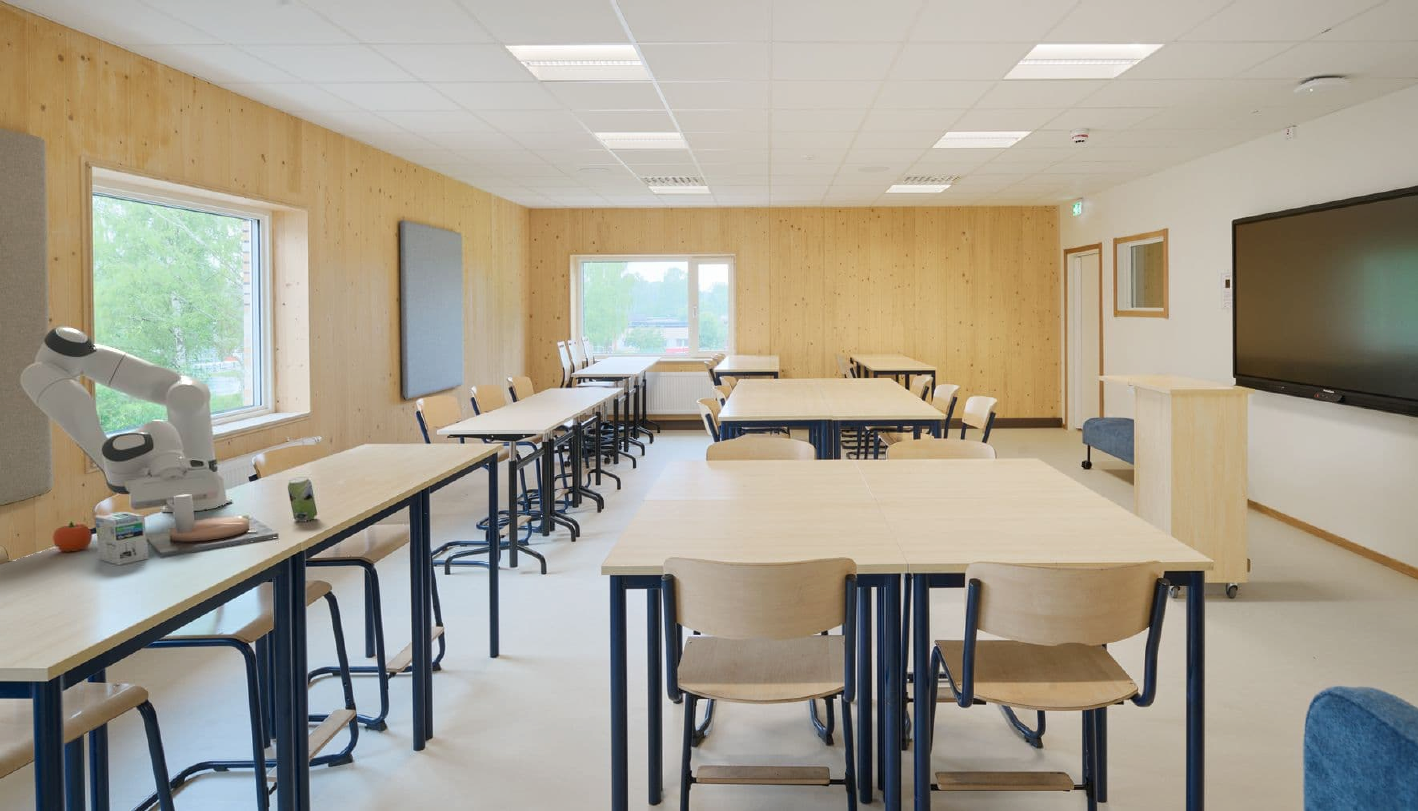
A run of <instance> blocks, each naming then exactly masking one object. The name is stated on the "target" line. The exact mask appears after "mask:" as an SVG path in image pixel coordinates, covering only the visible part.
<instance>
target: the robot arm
mask: <svg viewBox="0 0 1418 811" xmlns="http://www.w3.org/2000/svg"><path fill="white" fill-rule="evenodd" d="M83 376H84V377H85V378H87V379H88V380H90V381H93V382H95V383H97V384H99V385H102V386H103V387H106V388H110V389H111V390H114V391H117V392H120V393H122V394H124V395H125V394H126V395H127V396H129V397H133V398H136V399H138V400H142V401H146V402H149V403H152V404H155V405H158V406H162V407H165V408H166V413H167V414H166V415H167V421H166V420H162V419H153V420H150V421H147V422H145V423H144V424H142V426H141V427H139V428H137V429H135V430H132V431H130V432H126V433H118V434H115V435H113V436H111V437H109V438H108V437H107V435H106V434H105V432H104V430H103V428H102V425H101V421H100V419H99V414H98V411H97V410H98V409H97V407H96V406H97V405H96V404H95V401H94V398H93V397H92V395H91V394H90V392H89V391H88V390H87V389H86V387H85V386H84V385H83V384H82V383H81V382H80V379H81V377H83ZM19 383H20V385H21V387H22V389H23V390H24V392H25V393H26V395H27V396H28V398H30V400H31V401H32V402H33V403H34V405H35V406H36V407H38V409H40V411H42V412H43V413H44V414H45V415H46V416H47V417H48V418H50V420H52V422H54V423H55V424H56V425H57V426H58V427H60V429H61V430H62V431H63V432H65V434H66V435H68V437H70V438H71V440H73V441H74V443H75V444H77V446H78V447H79V448H80V449H81V451H82V452H84V454H85V455H86V456H87V457H88V459H90V460H91V461H92V462H93V463H94V464H95V465H96V467H97V468H98V469H99V470H100V471H101V473H103V475H104V479H105V483H106V487H107V488H108V489H109V490H110V491H112V492H113V493H114V494H115V493H116V494H119V495H120V494H121V495H129V506H130V508H131V509H133V510H136V511H137V510H143V509H151V508H157V507H158V508H159V507H162V509H161V512H162V513H172V514H173V517H174V518H175V509H174V496H178V495H185V494H191V495H192V501H193V512H196V511H199V512H200V511H205V509H206V510H211V509H216V508H219V507H218V506H220V507H222V506H221V505H223V506H225V505H227V504H226V503H229V502H232V501H233V499H232V498H228V497H227V491H226V484H225V478H224V476H222V475H221V474H220V473H218V470H219V468H218V460H217V459H216V455H215V442H214V433H213V432H214V431H213V422H212V417H211V415H212V414H211V406H210V401H211V392H210V388H209V387H208V386H207V384H205V382H203V381H202V380H200V379H198V378H195V377H194V376H193V377H192V376H189V375H186V374H184V373H181V372H179V371H176V370H173V369H171V368H167V367H165V366H162V365H159V364H155V363H153V362H151V361H148V360H145V359H143V358H141V357H138V356H136V355H132V354H130V353H127V352H125V351H122V350H120V349H116V348H114V347H111V346H106V345H103V344H98V343H94V342H93V341H92V339H91V338H90V337H89V336H88V335H87V334H86V333H84V332H83V331H82V330H80V329H77V328H73V327H70V326H58V327H54V328H52V329H51V330H50V331H49V332H48V333H47V334H46V335H45V337H44V338H43V343H42V344H41V346H40V347H39V350H38V351H37V353H36V355H35V358H34V363H32V364H30V365H28V366H26V368H25V369H24V370H23V371H22V373H21V375H20V377H19ZM232 503H233V502H232ZM224 504H225V505H224ZM229 504H230V503H229Z"/></svg>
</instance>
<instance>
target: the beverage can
mask: <svg viewBox="0 0 1418 811" xmlns="http://www.w3.org/2000/svg"><path fill="white" fill-rule="evenodd" d="M312 484H313V483H312V481H311V480H310V479H309V478H308V477H306V476H301V477H300V476H299V477H294V478H292V479H290V480H289V481H288V485H287V491H288V496H289V500H290V501H289V502H290V506H291V511H292V515H293V519H294V521H295V520H296V521H297V520H299V521H298V522H301V521H302V522H306V521H305V520H308V521H311V520H313V519H315V517H316V516H317V515H318V511H317V505H316V501H315V494H314V490H313V485H312ZM310 519H311V520H310Z"/></svg>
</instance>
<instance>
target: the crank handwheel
mask: <svg viewBox="0 0 1418 811" xmlns="http://www.w3.org/2000/svg"><path fill="white" fill-rule="evenodd" d="M174 509H175V517H174V520H175V525H174V526H171V527H170V528H169V529H168V530H169V537H170V539H171V540H174V541H203V540H212V539H219V538H224V537H229V536H233V535H237V534H240V533H243V532H245V531H247V530H248V529H249V520H248V519H246V518H241V517H234V516H231V517H230V516H226V517H211V518H203V519H196V520H195V516H194V515H195V514H194V512H195V511H193V501H192V495H191V494H185V495H178V496H174Z"/></svg>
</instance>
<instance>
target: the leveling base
mask: <svg viewBox="0 0 1418 811" xmlns="http://www.w3.org/2000/svg"><path fill="white" fill-rule="evenodd" d="M233 517H241V518H246V519H248V520H249V529H248V530H247V531H245V532H243V533H240V534H237V535H233V536H229V537H224V538H219V539H212V540H203V541H174V540H171V539H170V537H169V529H168V530H163V531H162V530H161V531H156V532H149V533H146V540H147V542H148V543H147V545H149V546H150V545H151V546H150V547H151V548H152V549H153V550H154V551H155V553H157V555H159V557H160V558H161V559H162V558H166V557H167V558H168V557H173V556H178V555H184V554H185V553H186V554H190V553H191V554H192V553H197V552H204V551H208V550H207V549H209V550H214V549H219V548H220V547H221V548H225V546H227V547H230V546H229V545H233V546H238V545H243V544H242V543H245V542H251V541H257V542H261V541H260V540H263V541H266V540H265V539H269V538H273V537H279V533H278V532H276V531H275V530H273V529H271V527H269V526H267V525H265V524H264V523H262V522H261V521H259V520H257V519H255V518H254V517H250V515H248V514H242V515H240V514H239V515H234V516H233ZM269 540H270V539H269ZM251 543H252V542H251ZM245 544H246V543H245ZM221 548H220V549H221ZM203 550H204V551H203ZM186 554H185V555H186Z"/></svg>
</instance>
